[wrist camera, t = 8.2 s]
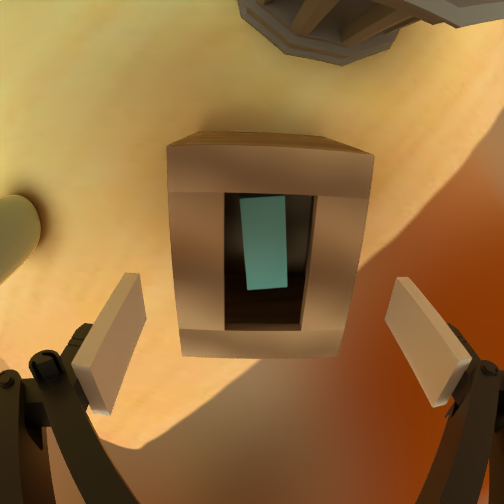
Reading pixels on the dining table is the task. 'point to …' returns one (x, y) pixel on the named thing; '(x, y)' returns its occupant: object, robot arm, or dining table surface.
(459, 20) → the lantern
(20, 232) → the cup
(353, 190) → the coin box
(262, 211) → the block
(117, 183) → the dining table surface
